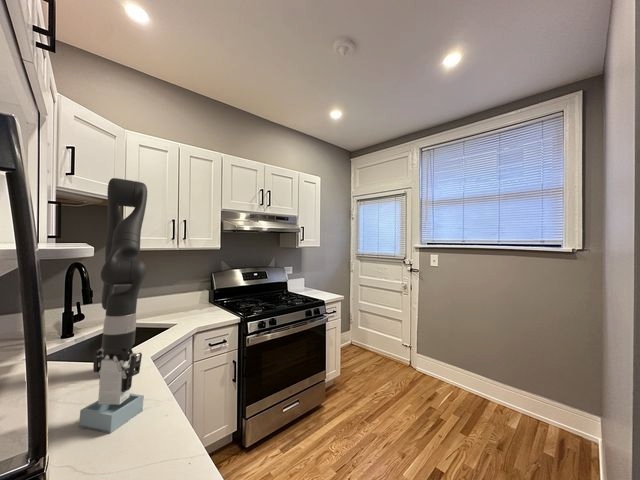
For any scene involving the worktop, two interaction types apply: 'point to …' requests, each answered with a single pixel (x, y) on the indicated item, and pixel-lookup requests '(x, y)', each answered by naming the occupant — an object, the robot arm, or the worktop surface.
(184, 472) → the worktop surface
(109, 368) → the skincare box
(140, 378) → the worktop surface
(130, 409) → the tray
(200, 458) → the worktop surface
